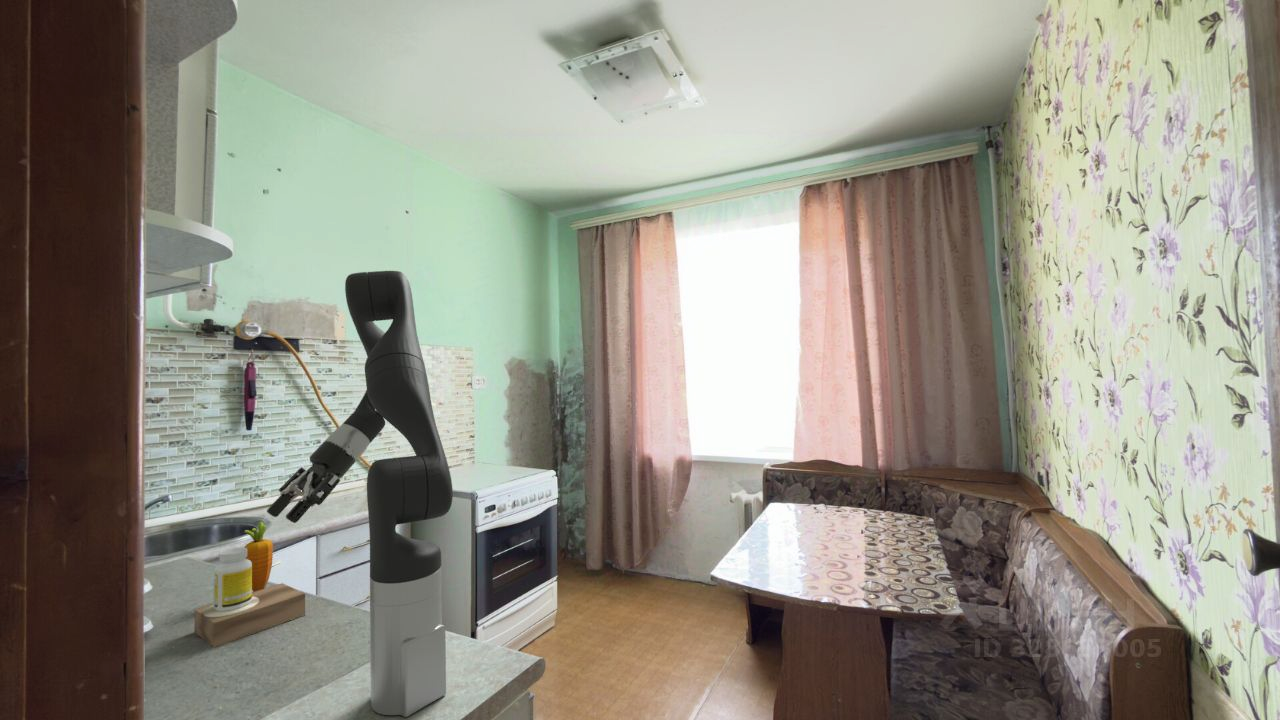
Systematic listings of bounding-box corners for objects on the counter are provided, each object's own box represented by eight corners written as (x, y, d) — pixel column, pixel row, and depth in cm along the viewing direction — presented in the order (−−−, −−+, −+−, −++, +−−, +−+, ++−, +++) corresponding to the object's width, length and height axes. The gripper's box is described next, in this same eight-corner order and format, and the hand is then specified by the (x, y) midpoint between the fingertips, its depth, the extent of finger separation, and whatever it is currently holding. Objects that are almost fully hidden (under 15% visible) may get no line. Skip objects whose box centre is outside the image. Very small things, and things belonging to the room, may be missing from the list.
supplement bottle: (259, 599, 97) (259, 546, 97) (231, 612, 91) (231, 556, 92) (234, 598, 98) (235, 545, 98) (206, 611, 92) (206, 555, 93)
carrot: (257, 601, 107) (257, 527, 107) (237, 599, 108) (237, 526, 108) (278, 591, 111) (278, 520, 112) (259, 589, 112) (259, 519, 113)
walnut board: (305, 614, 100) (305, 592, 100) (214, 647, 88) (214, 621, 88) (282, 603, 105) (282, 581, 105) (194, 632, 94) (194, 607, 94)
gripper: (311, 438, 113) (249, 502, 103) (345, 441, 105) (280, 511, 95) (337, 459, 117) (279, 523, 107) (371, 463, 109) (312, 533, 99)
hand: (280, 517), depth 101 cm, fingers open, 8 cm apart
